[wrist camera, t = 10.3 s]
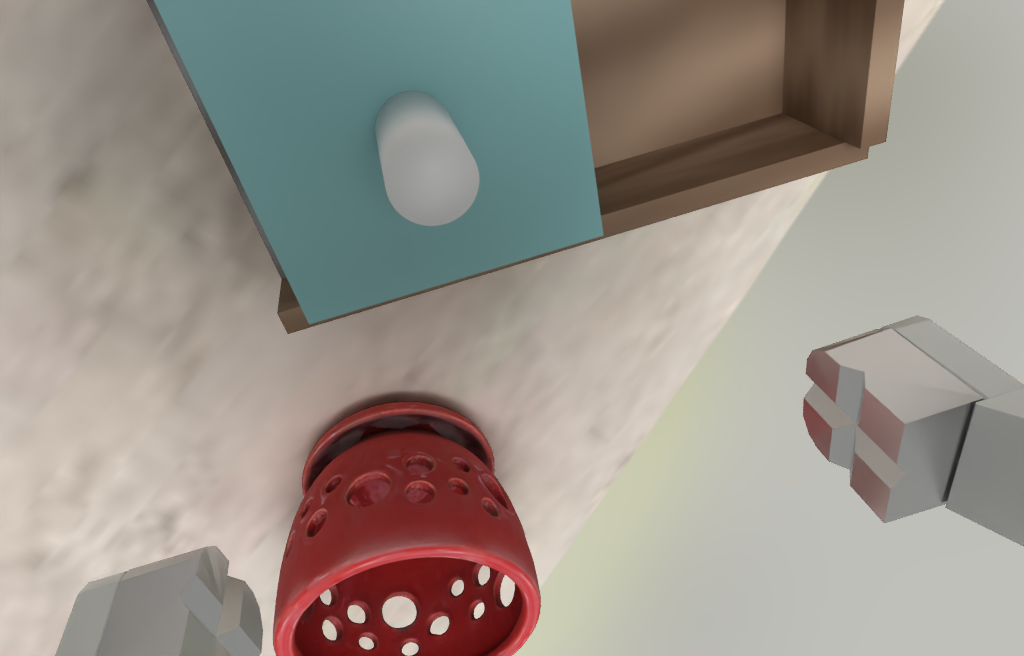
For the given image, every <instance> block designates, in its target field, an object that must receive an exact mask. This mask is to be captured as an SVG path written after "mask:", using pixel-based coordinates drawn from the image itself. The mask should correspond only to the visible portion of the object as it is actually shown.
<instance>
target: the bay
mask: <svg viewBox="0 0 1024 656" xmlns="http://www.w3.org/2000/svg"><path fill="white" fill-rule="evenodd" d="M147 2H148V4H149V6H150V8H151V10H152V13H153V15H154V17H155V19H156V21H157V23H158V25H159V27H160V29H161V31H162V33H163V35H164V37H165V39H166V41H167V43H168V46H169V48H170V50H171V52H172V54H173V56H174V58H175V60H176V62H177V64H178V66H179V68H180V70H181V72H182V74H183V76H184V78H185V81H186V83H187V85H188V87H189V89H190V91H191V93H192V95H193V97H194V99H195V101H196V103H197V105H198V107H199V109H200V111H201V114H202V116H203V118H204V120H205V122H206V124H207V126H208V128H209V130H210V132H211V134H212V136H213V138H214V140H215V142H216V144H217V146H218V149H219V151H220V153H221V155H222V157H223V159H224V161H225V163H226V165H227V167H228V169H229V171H230V173H231V175H232V177H233V179H234V182H235V184H236V186H237V188H238V190H239V192H240V194H241V196H242V198H243V200H244V202H245V204H246V206H247V208H248V210H249V212H250V214H251V217H252V219H253V221H254V223H255V225H256V227H257V229H258V231H259V233H260V235H261V237H262V239H263V241H264V243H265V245H266V247H267V250H268V252H269V254H270V256H271V258H272V260H273V262H274V264H275V266H276V268H277V270H278V272H279V274H280V276H281V278H282V282H281V290H280V297H279V304H278V312H277V313H278V315H279V317H280V319H281V321H282V323H283V325H284V327H285V329H286V331H287V333H288V334H289V333H293V332H296V331H299V330H303V329H306V328H309V327H313V326H316V325H319V324H322V323H326V322H329V321H332V320H336V319H339V318H342V317H346V316H349V315H352V314H355V313H359V312H362V311H365V310H369V309H372V308H375V307H379V306H382V305H385V304H388V303H392V302H395V301H398V300H402V299H405V298H408V297H412V296H415V295H418V294H421V293H425V292H428V291H431V290H435V289H438V288H441V287H445V286H448V285H451V284H454V283H458V282H461V281H464V280H468V279H471V278H474V277H478V276H481V275H484V274H487V273H491V272H494V271H497V270H501V269H504V268H507V267H511V266H514V265H517V264H521V263H524V262H527V261H530V260H534V259H537V258H540V257H544V256H547V255H550V254H554V253H557V252H560V251H563V250H567V249H570V248H573V247H577V246H580V245H583V244H587V243H590V242H593V241H596V240H600V239H603V238H606V237H610V236H613V235H616V234H620V233H623V232H626V231H629V230H633V229H636V228H639V227H643V226H646V225H649V224H653V223H656V222H659V221H662V220H666V219H669V218H672V217H676V216H679V215H682V214H686V213H689V212H692V211H695V210H699V209H702V208H705V207H709V206H712V205H715V204H719V203H722V202H725V201H728V200H732V199H735V198H738V197H742V196H745V195H748V194H752V193H755V192H758V191H761V190H765V189H768V188H771V187H775V186H778V185H781V184H785V183H788V182H791V181H794V180H798V179H801V178H804V177H808V176H811V175H814V174H818V173H821V172H824V171H828V170H831V169H834V168H837V167H841V166H844V165H847V164H851V163H854V162H857V161H860V160H863V159H867V158H868V151H869V147H870V146H873V145H876V144H880V143H883V142H886V138H887V130H888V122H889V114H890V107H891V99H892V92H893V84H894V76H895V69H896V61H897V53H898V46H899V38H900V31H901V23H902V15H903V8H904V0H571V7H572V14H573V21H574V29H575V36H576V43H577V50H578V57H579V64H580V71H581V78H582V85H583V92H584V100H585V107H586V114H587V121H588V128H589V135H590V142H591V149H592V156H593V163H594V171H595V178H596V185H597V192H598V199H599V206H600V213H601V220H602V227H603V234H604V235H603V236H600V237H597V238H594V239H590V240H587V241H584V242H580V243H577V244H574V245H570V246H567V247H564V248H561V249H557V250H554V251H551V252H547V253H544V254H541V255H537V256H534V257H531V258H527V259H524V260H521V261H518V262H514V263H511V264H508V265H504V266H501V267H498V268H494V269H491V270H488V271H485V272H481V273H478V274H475V275H471V276H468V277H465V278H461V279H458V280H455V281H451V282H448V283H445V284H442V285H438V286H435V287H432V288H428V289H425V290H422V291H418V292H415V293H412V294H409V295H405V296H402V297H399V298H395V299H392V300H389V301H385V302H382V303H379V304H375V305H372V306H369V307H366V308H362V309H359V310H356V311H352V312H349V313H346V314H342V315H339V316H336V317H332V318H329V319H326V320H323V321H319V322H316V323H313V324H309V323H308V321H307V319H306V317H305V315H304V313H303V311H302V309H301V307H300V304H299V302H298V300H297V298H296V296H295V294H294V292H293V290H292V288H291V286H290V284H289V282H288V279H287V277H286V275H285V273H284V271H283V269H282V267H281V265H280V263H279V261H278V259H277V256H276V254H275V252H274V250H273V248H272V246H271V244H270V242H269V240H268V238H267V236H266V234H265V231H264V229H263V227H262V225H261V223H260V221H259V219H258V217H257V215H256V213H255V211H254V209H253V206H252V204H251V202H250V200H249V198H248V196H247V194H246V192H245V190H244V188H243V186H242V184H241V181H240V179H239V177H238V175H237V173H236V171H235V169H234V167H233V165H232V163H231V161H230V158H229V156H228V154H227V152H226V150H225V148H224V146H223V144H222V142H221V140H220V138H219V136H218V133H217V131H216V129H215V127H214V125H213V123H212V121H211V119H210V117H209V115H208V113H207V111H206V108H205V106H204V104H203V102H202V100H201V98H200V96H199V94H198V92H197V90H196V88H195V85H194V83H193V81H192V79H191V77H190V75H189V73H188V71H187V69H186V67H185V65H184V63H183V60H182V58H181V56H180V54H179V52H178V50H177V48H176V46H175V44H174V42H173V40H172V38H171V35H170V33H169V31H168V29H167V27H166V25H165V23H164V21H163V19H162V17H161V15H160V13H159V10H158V8H157V6H156V4H155V2H154V0H147Z"/></svg>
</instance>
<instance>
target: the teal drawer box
mask: <svg viewBox="0 0 1024 656" xmlns="http://www.w3.org/2000/svg"><path fill="white" fill-rule="evenodd" d="M154 2H155V4H156V6H157V8H158V10H159V13H160V15H161V17H162V19H163V21H164V23H165V25H166V27H167V29H168V31H169V33H170V35H171V38H172V40H173V42H174V44H175V46H176V48H177V50H178V52H179V54H180V56H181V58H182V60H183V63H184V65H185V67H186V69H187V71H188V73H189V75H190V77H191V79H192V81H193V83H194V85H195V88H196V90H197V92H198V94H199V96H200V98H201V100H202V102H203V104H204V106H205V108H206V111H207V113H208V115H209V117H210V119H211V121H212V123H213V125H214V127H215V129H216V131H217V133H218V136H219V138H220V140H221V142H222V144H223V146H224V148H225V150H226V152H227V154H228V156H229V158H230V161H231V163H232V165H233V167H234V169H235V171H236V173H237V175H238V177H239V179H240V181H241V184H242V186H243V188H244V190H245V192H246V194H247V196H248V198H249V200H250V202H251V204H252V206H253V209H254V211H255V213H256V215H257V217H258V219H259V221H260V223H261V225H262V227H263V229H264V231H265V234H266V236H267V238H268V240H269V242H270V244H271V246H272V248H273V250H274V252H275V254H276V256H277V259H278V261H279V263H280V265H281V267H282V269H283V271H284V273H285V275H286V277H287V279H288V282H289V284H290V286H291V288H292V290H293V292H294V294H295V296H296V298H297V300H298V302H299V304H300V307H301V309H302V311H303V313H304V315H305V317H306V319H307V321H308V323H309V324H313V323H316V322H319V321H323V320H326V319H329V318H332V317H336V316H339V315H342V314H346V313H349V312H352V311H356V310H359V309H362V308H366V307H369V306H372V305H375V304H379V303H382V302H385V301H389V300H392V299H395V298H399V297H402V296H405V295H409V294H412V293H415V292H418V291H422V290H425V289H428V288H432V287H435V286H438V285H442V284H445V283H448V282H451V281H455V280H458V279H461V278H465V277H468V276H471V275H475V274H478V273H481V272H485V271H488V270H491V269H494V268H498V267H501V266H504V265H508V264H511V263H514V262H518V261H521V260H524V259H527V258H531V257H534V256H537V255H541V254H544V253H547V252H551V251H554V250H557V249H561V248H564V247H567V246H570V245H574V244H577V243H580V242H584V241H587V240H590V239H594V238H597V237H600V236H603V235H604V234H603V227H602V220H601V213H600V206H599V199H598V192H597V185H596V178H595V171H594V163H593V156H592V149H591V142H590V135H589V128H588V121H587V114H586V107H585V100H584V92H583V85H582V78H581V71H580V64H579V57H578V50H577V43H576V36H575V29H574V21H573V14H572V7H571V0H154Z"/></svg>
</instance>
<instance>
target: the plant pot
mask: <svg viewBox="0 0 1024 656" xmlns="http://www.w3.org/2000/svg"><path fill="white" fill-rule="evenodd" d="M302 489H303V494H304V499H303V501H302V503H301V505H300V507H299V509H298V511H297V514H296V516H295V518H294V521H293V524H292V527H291V530H290V533H289V537H288V541H287V544H286V548H285V552H284V556H283V561H282V565H281V570H280V576H279V583H278V589H277V597H276V606H275V615H274V626H273V646H274V650H275V653H276V656H406V655H404V654H403V653H402V647H403V646H404V645H405V644H406V643H409V642H413V643H416V644H417V645H418V647H419V650H418V652H417V653H416V654H415V655H412V656H512V655H513V654H514V653H516V652H517V651H518V650H519V649H520V648H521V647H522V646H523V644H524V643H525V642H526V640H527V639H528V637H529V636H530V634H531V633H532V632H533V630H534V628H535V626H536V624H537V621H538V618H539V614H540V607H541V597H540V590H539V585H538V580H537V575H536V571H535V566H534V562H533V559H532V556H531V553H530V550H529V547H528V544H527V541H526V538H525V533H524V530H523V527H522V525H521V522H520V520H519V518H518V516H517V514H516V511H515V509H514V507H513V505H512V503H511V501H510V499H509V497H508V495H507V494H506V492H505V490H504V489H503V487H502V486H501V484H500V483H499V481H498V480H497V478H496V477H495V476H494V457H493V453H492V450H491V447H490V445H489V443H488V441H487V439H486V438H485V436H484V435H483V433H482V432H481V431H480V430H479V428H478V427H476V426H475V425H474V424H473V423H472V422H471V421H470V420H468V419H467V418H465V417H464V416H462V415H460V414H458V413H456V412H454V411H451V410H449V409H446V408H443V407H440V406H437V405H432V404H427V403H419V402H396V403H388V404H382V405H378V406H374V407H370V408H368V409H365V410H362V411H359V412H357V413H355V414H353V415H351V416H349V417H347V418H345V419H344V420H342V421H341V422H339V423H338V424H336V425H335V426H334V427H332V428H331V429H330V430H328V431H327V432H326V433H325V434H324V436H323V437H322V438H321V439H320V440H319V441H318V443H317V444H316V445H315V447H314V448H313V450H312V452H311V453H310V455H309V457H308V459H307V461H306V464H305V467H304V471H303V476H302ZM483 565H485V566H488V567H490V578H489V580H488V582H487V583H486V584H484V585H482V586H481V585H480V584H479V581H478V573H479V570H480V568H481V567H482V566H483ZM504 575H507V576H508V577H509V578H510V579H512V580H513V581H514V582H515V592H514V597H513V600H512V602H511V603H510V605H509V606H507V607H505V606H504V605H503V604H502V602H501V598H500V588H501V583H502V580H503V577H504ZM457 580H462V581H463V582H464V590H463V592H462V593H461V594H460V595H458V596H454V595H453V594H452V592H451V589H452V586H453V584H454V582H455V581H457ZM327 589H329V590H330V592H331V603H330V605H326V604H324V603H323V602H322V601H321V599H320V595H321V594H322V593H323V592H324V591H326V590H327ZM395 596H403V597H406V598H409V599H410V600H411V601H412V602H413V603H414V604H415V606H416V610H417V615H416V619H415V621H414V622H413V623H412V624H410V625H408V626H406V627H404V628H393V627H391V626H389V625H388V624H387V623H386V622H385V621H384V619H383V616H382V607H383V605H384V603H385V602H386V601H387V600H388V599H390V598H392V597H395ZM481 602H483V603H484V605H485V610H484V613H483V615H482V616H481V617H480V618H478V619H475V617H474V609H475V607H476V606H477V605H478V604H479V603H481ZM351 605H358V606H360V607H361V608H362V609H363V610H364V612H365V622H364V623H361V624H360V623H354V622H352V621H351V620H350V619H349V618H348V614H347V611H348V607H349V606H351ZM441 616H447V617H448V618H449V627H448V629H447V631H446V632H445V633H443V634H441V635H437V634H432V633H431V632H430V627H431V625H432V623H433V621H434V620H435V619H437V618H438V617H441ZM324 620H329V621H330V622H331V623H332V624H333V625H334V626H335V628H336V631H337V638H336V640H329V639H327V638H326V637H325V635H324V634H323V630H322V625H323V622H324ZM361 637H368V638H370V639H371V640H372V641H373V643H374V647H373V648H372V649H370V650H366V649H364V648H362V647H361V646H360V645H359V639H360V638H361Z"/></svg>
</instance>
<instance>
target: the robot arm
mask: <svg viewBox="0 0 1024 656" xmlns="http://www.w3.org/2000/svg"><path fill="white" fill-rule="evenodd" d="M806 374H807V375H808V376H809V377H810V378H811V380H812V381H814V384H813V386H812V387H811V389H810V390H809V391H808V393H807V394H806V396H805V397H804V407H803V416H804V420H805V422H806V426H807V429H808V432H809V435H810V436H811V438H812V439H813V441H814V443H815V445H816V447H817V448H818V449H819V450H820V452H821V453H822V454H823V455H824V456H825V457H826V459H827V460H828V461H829V462H832V463H834V464H837V465H839V466H842V467H845V468H847V469H849V470H850V486H851V487H852V488H853V489H854V490H855V491H856V493H857V494H858V495H859V496H860V497H861V498H862V499H863V500H864V501H865V503H866V504H867V505H868V506H869V507H870V508H871V509H872V510H873V511H874V512H875V514H876V515H877V516H878V517H879V518H880V519H881V520H882V521H883V523H887V522H890V521H893V520H897V519H900V518H903V517H906V516H909V515H912V514H916V513H919V512H922V511H925V510H928V509H932V508H935V507H937V506H941V505H944V504H946V508H947V509H949V510H952V511H953V512H955V513H957V514H960V515H962V516H963V517H965V518H967V519H969V520H972V521H973V522H976V523H978V524H980V525H982V526H984V527H986V528H988V529H990V530H992V531H994V532H996V533H998V534H1000V535H1002V536H1004V537H1006V538H1008V539H1010V540H1012V541H1014V542H1016V543H1018V544H1020V545H1022V546H1024V385H1023V384H1022V383H1021V382H1019V381H1018V380H1017V379H1015V378H1014V377H1012V376H1011V375H1009V374H1008V373H1006V372H1005V371H1004V370H1002V369H1001V368H999V367H998V366H996V365H995V364H993V363H992V362H991V361H989V360H988V359H986V358H985V357H983V356H982V355H981V354H979V353H978V352H976V351H975V350H973V349H972V348H971V347H969V346H968V345H966V344H965V343H963V342H962V341H960V340H959V339H957V338H956V337H954V336H953V335H952V334H950V333H949V332H947V331H946V330H944V329H943V328H942V327H940V326H939V325H937V324H936V323H934V322H933V321H932V320H930V319H928V318H924V317H920V316H915V317H911V318H908V319H905V320H903V321H899V322H896V323H893V324H890V325H887V326H884V327H882V328H880V329H875V330H873V331H869V332H866V333H863V334H861V335H858V336H854V337H852V338H848V339H845V340H842V341H839V342H836V343H833V344H830V345H828V346H825V347H821V348H818V349H815V350H813V351H812V352H811V354H810V355H809V357H808V359H807V367H806ZM228 566H229V560H228V559H227V558H226V557H225V556H224V555H223V553H222V552H221V551H220V550H219V549H218V548H217V546H211V547H204V548H201V549H197V550H194V551H191V552H187V553H184V554H181V555H177V556H174V557H171V558H167V559H164V560H160V561H157V562H154V563H150V564H147V565H144V566H140V567H137V568H133V569H130V570H129V571H126V572H123V573H119V574H116V575H113V576H109V577H106V578H102V579H99V580H96V581H92V582H89V583H88V584H87V585H86V586H85V587H84V588H83V589H82V590H81V591H80V592H79V594H78V595H77V598H76V600H75V603H74V606H73V609H72V611H71V614H70V617H69V619H68V622H67V625H66V628H65V630H64V633H63V636H62V638H61V641H60V644H59V647H58V649H57V652H56V655H55V656H259V655H260V654H261V651H262V636H263V628H262V621H261V614H260V608H259V605H258V603H257V601H256V598H255V596H254V594H253V592H252V590H251V589H250V588H249V586H248V585H247V584H246V582H245V581H242V580H239V579H236V578H233V577H230V576H227V573H228Z"/></svg>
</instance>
